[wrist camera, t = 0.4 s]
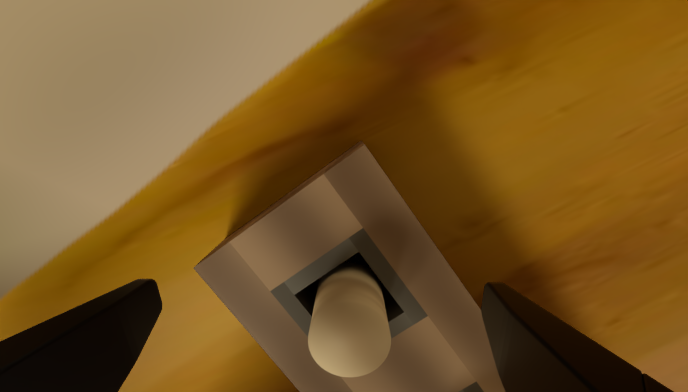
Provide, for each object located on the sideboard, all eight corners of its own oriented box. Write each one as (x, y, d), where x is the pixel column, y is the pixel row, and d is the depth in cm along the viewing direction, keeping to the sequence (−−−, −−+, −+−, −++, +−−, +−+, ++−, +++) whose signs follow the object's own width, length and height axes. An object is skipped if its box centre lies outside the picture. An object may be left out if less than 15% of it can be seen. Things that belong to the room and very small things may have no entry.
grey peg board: (422, 478, 28) (438, 553, 23) (224, 239, 24) (193, 267, 19) (550, 409, 27) (595, 473, 22) (361, 140, 23) (364, 144, 18)
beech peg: (342, 332, 21) (340, 391, 17) (304, 285, 21) (291, 332, 16) (394, 299, 21) (407, 350, 16) (357, 250, 20) (359, 287, 16)
